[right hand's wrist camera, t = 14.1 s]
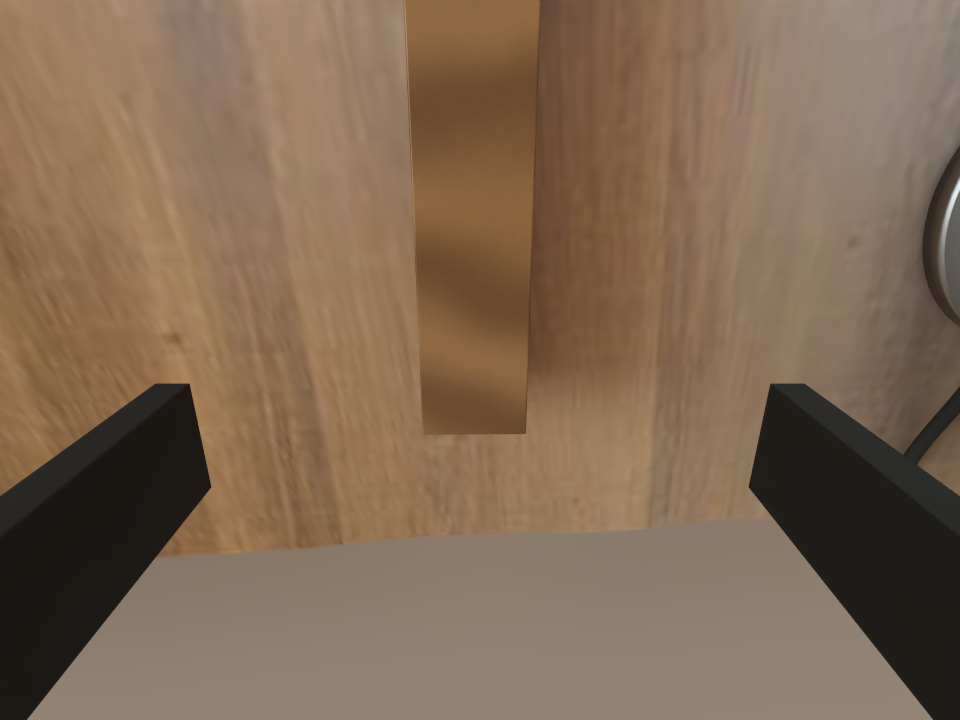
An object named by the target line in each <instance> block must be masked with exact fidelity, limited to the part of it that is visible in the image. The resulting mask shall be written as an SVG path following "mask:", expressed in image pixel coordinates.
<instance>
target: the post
mask: <svg viewBox="0 0 960 720" xmlns="http://www.w3.org/2000/svg"><path fill="white" fill-rule="evenodd" d="M540 6H541V0H404V20H405V42H406V65H407V87H408V109H409V132H410V154H411V177H412V199H413V222H414V244H415V267H416V289H417V311H418V334H419V356H420V379H421V401H422V424H423V434H425V435H426V434H525V433H526V413H527V384H528V355H529V326H530V297H531V268H532V239H533V209H534V180H535V151H536V122H537V93H538V64H539V35H540Z"/></svg>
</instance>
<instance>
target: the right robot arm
mask: <svg viewBox="0 0 960 720" xmlns="http://www.w3.org/2000/svg"><path fill="white" fill-rule="evenodd" d="M923 264H924V270H925V276H926V279H927V282H928V286H929V288H930V291H931V293H932V295H933V297H934V299H935V301H936V302H937V304H938V305H939V307H940V308H941V309H942V311H943V312H944V313H945V314H946V315H947V316H948V317H949V318H950V319H951V320H952V321H953V322H954V323H955V324H957V325H958V326H960V147H959V148H958V149H957V151H956V153H955V154H954V156H953V157H952V159H951V160H950V162H949V164H948V165H947V167H946V169H945V171H944V173H943V175H942V177H941V179H940V181H939V183H938V185H937V188H936V190H935V192H934V195H933V198H932V201H931V204H930V207H929V210H928V214H927V218H926V222H925V229H924V235H923ZM959 413H960V387H959V388H958V390H957V391H956V392H955V393H954V394H953V396H952V397H951V398H950V399H949V400H948V401H947V403H946V404H945V405H944V406H943V407H942V408H941V410H940V411H939V412H938V413H937V414H936V415H935V416H934V417H933V419H932V420H931V421H930V422H929V423H928V424H927V425H926V427H925V428H924V429H923V430H922V431H921V433H920V434H919V435H918V436H917V438H916V439H915V440H914V441H913V443H912V444H911V445H910V447H909V448H908V449H907V451H906V452H905V454H904V455H902V454H901V453H899V452H898V451H897V450H895V449H894V448H892V447H891V446H890V445H888V444H887V443H886V442H884V441H883V440H881V439H880V438H879V437H877V436H876V435H874V434H873V433H872V432H870V431H869V430H868V429H866V428H865V427H863V426H862V425H861V424H859V423H858V422H857V421H855V420H854V419H852V418H851V417H850V416H848V415H847V414H846V413H844V412H843V411H841V410H840V409H839V408H837V407H836V406H835V405H833V404H832V403H830V402H829V401H828V400H826V399H825V398H823V397H822V396H821V395H819V394H818V393H817V392H815V391H814V390H812V389H811V388H810V387H808V386H807V385H806V384H770V389H769V393H768V398H767V403H766V407H765V412H764V417H763V422H762V426H761V431H760V436H759V441H758V445H757V450H756V455H755V459H754V464H753V469H752V474H751V478H750V483H749V488H750V489H751V491H752V492H753V493H754V494H755V496H756V497H757V498H758V500H759V501H760V502H761V503H762V505H763V506H764V507H765V508H766V510H767V511H768V512H769V513H770V515H771V516H772V517H773V518H774V520H775V521H776V522H777V523H778V525H779V526H780V527H781V528H782V530H783V531H784V532H785V534H786V535H787V536H788V537H789V539H790V540H791V541H792V542H793V544H794V545H795V546H796V547H797V549H798V550H799V551H800V552H801V554H802V555H803V556H804V557H805V559H806V560H807V561H808V562H809V564H810V565H811V566H812V567H813V569H814V570H815V571H816V573H817V574H818V575H819V576H820V578H821V579H822V580H823V581H824V583H825V584H826V585H827V586H828V588H829V589H830V590H831V592H832V593H833V594H834V595H835V597H836V598H837V599H838V600H839V602H840V603H841V604H842V605H843V607H844V608H845V609H846V610H847V612H848V613H849V614H850V615H851V617H852V618H853V619H854V621H855V622H856V623H857V624H858V626H859V627H860V628H861V629H862V631H863V632H864V633H865V634H866V636H867V637H868V638H869V639H870V641H871V642H872V643H873V644H874V646H875V647H876V648H877V650H878V651H879V652H880V653H881V654H882V656H883V657H884V658H885V660H886V661H887V662H888V663H889V665H890V666H891V667H892V668H893V670H894V671H895V672H896V673H897V675H898V676H899V677H900V679H901V680H902V681H903V682H904V684H905V685H906V686H907V687H908V688H909V690H910V691H911V692H912V694H913V695H914V696H915V697H916V699H917V700H918V701H919V702H920V704H921V705H922V706H923V707H924V709H925V710H926V711H927V712H928V714H929V715H930V716H931V718H932V719H933V720H960V496H959V495H957V494H956V493H954V492H953V491H952V490H950V489H949V488H948V487H946V486H945V485H943V484H942V483H941V482H939V481H938V480H937V479H935V478H934V477H932V476H931V475H930V474H928V473H927V472H926V471H924V470H923V469H921V468H920V467H919V466H917V463H918V462H919V460H920V459H921V457H922V456H923V455H924V453H925V452H926V451H927V450H928V448H929V447H930V446H931V445H932V443H933V442H934V441H935V440H936V439H937V438H938V436H939V435H940V434H941V433H942V432H943V431H944V430H945V428H946V427H947V426H948V425H949V424H950V423H951V422H952V421H953V420H954V419H955V417H956V416H957V415H958V414H959ZM210 488H211V483H210V478H209V474H208V469H207V464H206V459H205V455H204V450H203V445H202V441H201V436H200V431H199V426H198V422H197V417H196V412H195V407H194V403H193V398H192V393H191V389H190V384H154V385H153V386H152V387H150V388H149V389H148V390H146V391H145V392H143V393H142V394H141V395H139V396H138V397H137V398H135V399H134V400H132V401H131V402H130V403H128V404H127V405H125V406H124V407H123V408H121V409H120V410H119V411H117V412H116V413H114V414H113V415H112V416H110V417H109V418H108V419H106V420H105V421H103V422H102V423H101V424H99V425H98V426H97V427H95V428H94V429H92V430H91V431H90V432H88V433H87V434H86V435H84V436H83V437H81V438H80V439H79V440H77V441H76V442H74V443H73V444H72V445H70V446H69V447H68V448H66V449H65V450H63V451H62V452H61V453H59V454H58V455H57V456H55V457H54V458H52V459H51V460H50V461H48V462H47V463H46V464H44V465H43V466H41V467H40V468H39V469H37V470H36V471H34V472H33V473H32V474H30V475H29V476H28V477H26V478H25V479H23V480H22V481H21V482H19V483H18V484H17V485H15V486H14V487H12V488H11V489H10V490H8V491H7V492H6V493H4V494H3V495H1V496H0V720H27V719H28V717H29V716H30V715H31V714H32V713H33V711H34V710H35V709H36V707H37V706H38V705H39V704H40V702H41V701H42V700H43V699H44V697H45V696H46V695H47V694H48V692H49V691H50V690H51V689H52V687H53V686H54V685H55V683H56V682H57V681H58V680H59V679H60V677H61V676H62V675H63V673H64V672H65V671H66V670H67V668H68V667H69V666H70V665H71V663H72V662H73V661H74V660H75V658H76V657H77V656H78V654H79V653H80V652H81V651H82V649H83V648H84V647H85V646H86V644H87V643H88V642H89V641H90V639H91V638H92V637H93V636H94V634H95V633H96V632H97V630H98V629H99V628H100V627H101V626H102V624H103V623H104V622H105V621H106V619H107V618H108V617H109V615H110V614H111V613H112V612H113V610H114V609H115V608H116V607H117V605H118V604H119V603H120V602H121V600H122V599H123V598H124V597H125V595H126V594H127V593H128V592H129V590H130V589H131V588H132V586H133V585H134V584H135V583H136V581H137V580H138V579H139V578H140V576H141V575H142V574H143V573H144V571H145V570H146V569H147V568H148V566H149V565H150V564H151V563H152V561H153V560H154V559H155V557H156V556H157V555H158V554H159V552H160V551H161V550H162V549H163V547H164V546H165V545H166V544H167V542H168V541H169V540H170V539H171V537H172V536H173V535H174V534H175V532H176V531H177V530H178V528H179V527H180V526H181V525H182V523H183V522H184V521H185V520H186V518H187V517H188V516H189V515H190V513H191V512H192V511H193V510H194V508H195V507H196V506H197V505H198V503H199V502H200V501H201V500H202V498H203V497H204V496H205V494H206V493H207V492H208V491H209V489H210Z"/></svg>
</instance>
